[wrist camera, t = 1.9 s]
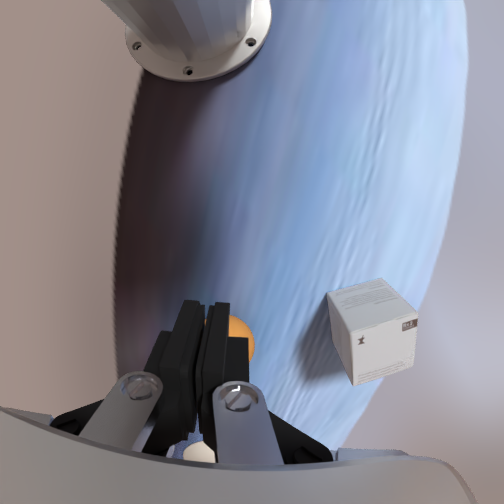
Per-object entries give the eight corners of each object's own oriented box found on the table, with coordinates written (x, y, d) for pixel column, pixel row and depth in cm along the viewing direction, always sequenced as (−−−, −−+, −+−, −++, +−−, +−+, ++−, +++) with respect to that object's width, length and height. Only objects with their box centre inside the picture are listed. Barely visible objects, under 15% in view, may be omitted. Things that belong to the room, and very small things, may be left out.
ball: (195, 301, 27) (185, 334, 22) (255, 304, 27) (258, 339, 22) (197, 348, 29) (188, 385, 24) (251, 352, 29) (253, 389, 24)
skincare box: (331, 341, 29) (351, 389, 22) (325, 290, 27) (348, 333, 20) (384, 326, 29) (414, 368, 22) (383, 275, 27) (419, 311, 20)
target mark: (179, 435, 34) (179, 436, 34) (267, 441, 34) (267, 442, 34) (186, 473, 38) (186, 473, 37) (259, 477, 38) (259, 478, 38)
